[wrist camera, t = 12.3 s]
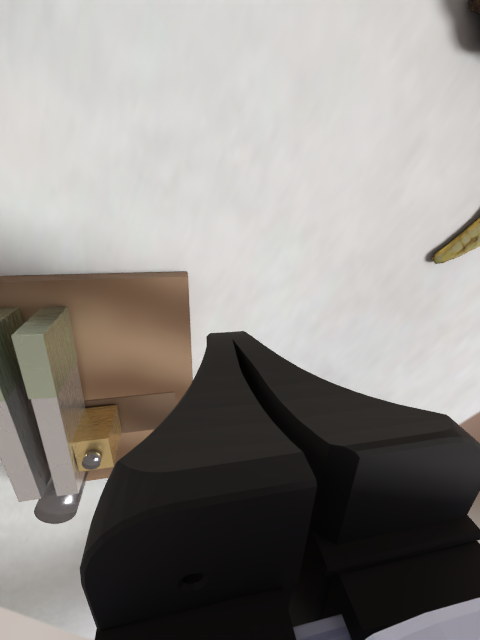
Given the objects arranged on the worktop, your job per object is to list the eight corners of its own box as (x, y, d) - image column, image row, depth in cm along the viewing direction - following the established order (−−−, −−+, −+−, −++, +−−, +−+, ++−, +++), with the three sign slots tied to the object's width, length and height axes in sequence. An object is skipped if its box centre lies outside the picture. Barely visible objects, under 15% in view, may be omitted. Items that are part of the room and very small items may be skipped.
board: (195, 453, 26) (196, 465, 24) (41, 474, 23) (34, 489, 22) (187, 271, 19) (188, 277, 18) (-29, 276, 17) (-43, 283, 16)
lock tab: (121, 431, 21) (112, 475, 18) (91, 435, 21) (76, 480, 18) (116, 404, 20) (105, 446, 17) (85, 408, 20) (68, 451, 17)
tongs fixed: (93, 472, 23) (78, 524, 19) (52, 478, 22) (29, 532, 19) (51, 304, 17) (19, 334, 14) (-5, 306, 17) (-53, 338, 13)
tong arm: (93, 448, 21) (79, 494, 18) (73, 450, 21) (55, 497, 18) (67, 306, 17) (42, 334, 14) (42, 306, 17) (11, 335, 14)
